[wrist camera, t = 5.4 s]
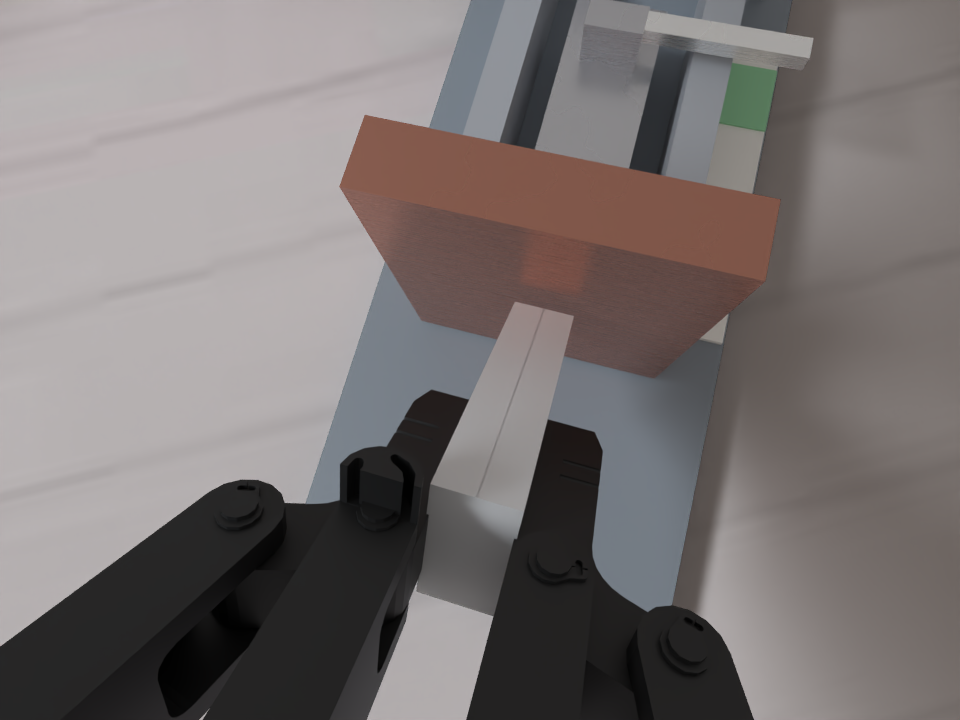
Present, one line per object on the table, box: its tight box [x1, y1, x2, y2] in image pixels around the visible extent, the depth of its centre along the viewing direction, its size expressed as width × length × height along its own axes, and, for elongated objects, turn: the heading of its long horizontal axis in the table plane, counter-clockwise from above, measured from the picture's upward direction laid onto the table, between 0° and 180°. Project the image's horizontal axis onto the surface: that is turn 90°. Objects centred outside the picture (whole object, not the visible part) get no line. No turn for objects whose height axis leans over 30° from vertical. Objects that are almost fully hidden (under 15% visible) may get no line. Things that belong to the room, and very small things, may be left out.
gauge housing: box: [306, 0, 792, 612], centre depth 17 cm, size 26×12×9 cm, turn 164°
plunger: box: [339, 0, 813, 379], centre depth 16 cm, size 12×10×9 cm
